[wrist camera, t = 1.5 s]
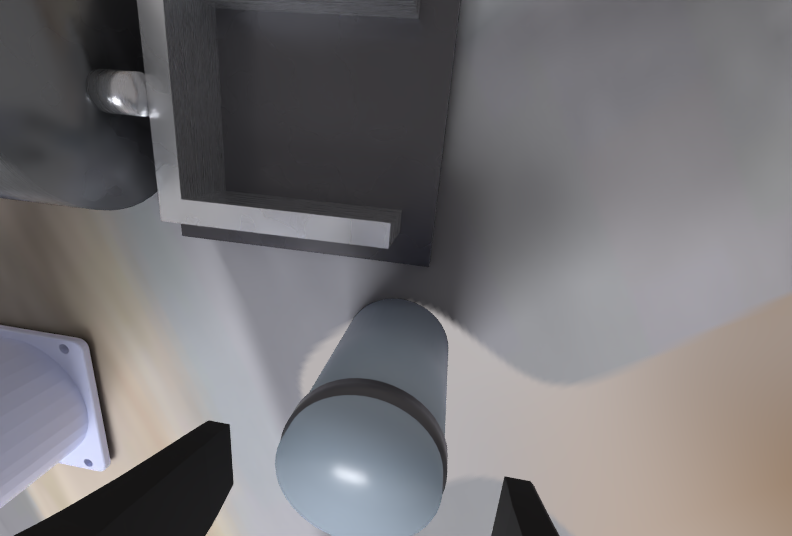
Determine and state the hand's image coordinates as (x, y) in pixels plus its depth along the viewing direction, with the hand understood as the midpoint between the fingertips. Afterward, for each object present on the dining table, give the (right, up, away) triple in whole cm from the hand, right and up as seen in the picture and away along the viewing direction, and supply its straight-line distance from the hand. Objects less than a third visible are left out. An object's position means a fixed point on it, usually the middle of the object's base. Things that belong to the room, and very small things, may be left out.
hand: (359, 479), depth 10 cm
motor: (-7, +12, +5) cm, 14 cm away
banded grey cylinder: (+1, +2, +7) cm, 7 cm away
